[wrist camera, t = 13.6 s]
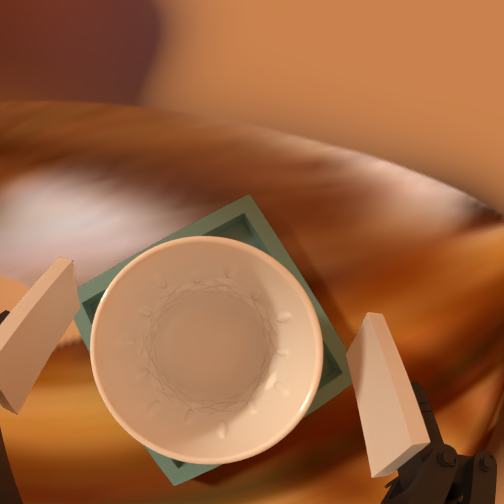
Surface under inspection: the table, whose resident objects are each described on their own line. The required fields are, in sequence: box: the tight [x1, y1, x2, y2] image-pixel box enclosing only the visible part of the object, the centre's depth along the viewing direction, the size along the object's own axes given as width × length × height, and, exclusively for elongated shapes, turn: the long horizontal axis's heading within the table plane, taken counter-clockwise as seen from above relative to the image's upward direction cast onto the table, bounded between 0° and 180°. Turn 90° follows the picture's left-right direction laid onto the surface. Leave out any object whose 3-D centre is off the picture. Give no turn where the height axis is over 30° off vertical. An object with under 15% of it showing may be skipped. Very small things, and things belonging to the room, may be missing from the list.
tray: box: [74, 194, 353, 486], centre depth 19 cm, size 14×14×2 cm
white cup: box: [90, 236, 323, 465], centre depth 14 cm, size 8×8×10 cm
